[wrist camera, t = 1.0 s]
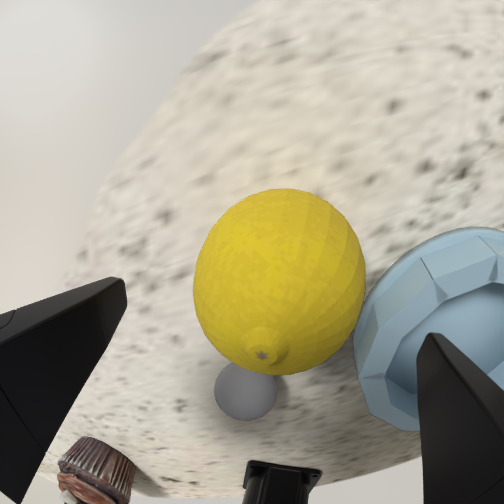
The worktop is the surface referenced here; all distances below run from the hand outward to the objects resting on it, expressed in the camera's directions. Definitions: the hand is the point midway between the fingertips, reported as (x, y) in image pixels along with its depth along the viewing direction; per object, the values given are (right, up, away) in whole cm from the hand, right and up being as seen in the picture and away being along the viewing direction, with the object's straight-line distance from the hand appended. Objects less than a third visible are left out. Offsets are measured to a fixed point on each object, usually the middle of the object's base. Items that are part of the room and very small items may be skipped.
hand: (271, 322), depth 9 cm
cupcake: (-18, -23, +22) cm, 37 cm away
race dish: (+11, -2, +6) cm, 13 cm away
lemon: (+1, +3, +6) cm, 7 cm away
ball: (-1, -5, +10) cm, 11 cm away
